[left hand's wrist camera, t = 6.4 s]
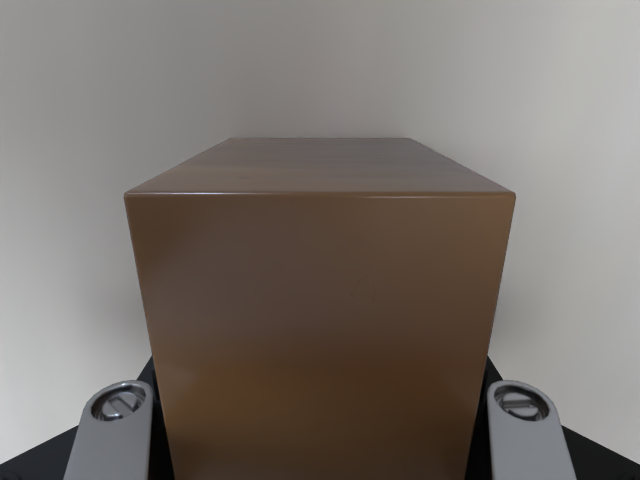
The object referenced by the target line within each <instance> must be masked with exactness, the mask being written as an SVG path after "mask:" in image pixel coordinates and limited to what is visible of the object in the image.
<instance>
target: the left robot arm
mask: <svg viewBox="0 0 640 480" xmlns="http://www.w3.org/2000/svg"><path fill="white" fill-rule="evenodd" d="M0 480H175V477H174V471H173V466H172V460H171V455H170V449H169V444H168V438H167V433H166V427H165V422H164V416H163V411H162V405H161V400H160V394H159V389H158V383H157V378H156V372H155V367H154V361H153V356H151V358H150V359H149V361H148V363H147V364H146V366H145V367H144V369H143V371H142V372H141V374H140V375H139V377H138V378H137V380H128V381H122V382H118V383H115V384H112V385H110V386H108V387H106V388H104V389H102V390H100V391H99V392H98V393H96V394H95V395H93V397H92V398H91V399H90V400H89V401H88V402H87V403H86V405H85V407H84V409H83V413H82V416H81V419H80V423H79V425H78V426H76V427H74V428H72V429H70V430H68V431H66V432H64V433H62V434H60V435H58V436H56V437H54V438H52V439H50V440H48V441H46V442H44V443H42V444H40V445H38V446H36V447H34V448H32V449H30V450H28V451H26V452H24V453H22V454H20V455H18V456H16V457H14V458H12V459H10V460H8V461H6V462H4V463H2V464H0ZM465 480H640V465H639V464H637V463H635V462H633V461H631V460H629V459H627V458H625V457H623V456H622V455H620V454H618V453H616V452H614V451H612V450H610V449H608V448H606V447H604V446H602V445H600V444H598V443H596V442H594V441H592V440H590V439H588V438H586V437H584V436H582V435H580V434H578V433H576V432H574V431H572V430H570V429H568V428H566V427H564V426H562V425H561V423H560V419H559V416H558V413H557V409H556V407H555V405H554V403H553V402H552V401H551V400H550V399H549V398H548V397H547V395H545V394H544V393H542V392H541V391H540V390H538V389H536V388H534V387H532V386H530V385H528V384H525V383H522V382H518V381H512V380H503V379H502V377H501V376H500V374H499V373H498V371H497V369H496V368H495V366H494V365H493V363H492V362H491V360H490V358H489V357H488V355H487V359H486V365H485V370H484V376H483V381H482V387H481V392H480V398H479V403H478V409H477V414H476V420H475V425H474V431H473V436H472V442H471V447H470V453H469V458H468V464H467V469H466V475H465Z"/></svg>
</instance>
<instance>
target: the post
mask: <svg viewBox="0 0 640 480" xmlns="http://www.w3.org/2000/svg"><path fill="white" fill-rule="evenodd" d="M515 200H516V194H515V193H514V192H512V191H510V190H508V189H507V188H505V187H503V186H501V185H499V184H497V183H495V182H493V181H491V180H489V179H487V178H485V177H483V176H482V175H480V174H478V173H476V172H474V171H472V170H470V169H468V168H466V167H464V166H462V165H460V164H458V163H457V162H455V161H453V160H451V159H449V158H447V157H445V156H443V155H441V154H439V153H437V152H435V151H433V150H432V149H430V148H428V147H426V146H424V145H422V144H420V143H418V142H416V141H414V140H412V139H410V138H230V139H227V140H226V141H224V142H222V143H220V144H218V145H216V146H214V147H212V148H210V149H208V150H206V151H204V152H202V153H200V154H199V155H197V156H195V157H193V158H191V159H189V160H187V161H185V162H183V163H181V164H179V165H177V166H175V167H173V168H172V169H170V170H168V171H166V172H164V173H162V174H160V175H158V176H156V177H154V178H152V179H150V180H148V181H147V182H145V183H143V184H141V185H139V186H137V187H135V188H133V189H131V190H129V191H127V192H125V194H124V202H125V207H126V213H127V218H128V224H129V229H130V235H131V240H132V246H133V251H134V257H135V262H136V268H137V273H138V279H139V284H140V290H141V295H142V301H143V306H144V312H145V317H146V323H147V328H148V334H149V339H150V345H151V350H152V356H153V361H154V367H155V372H156V378H157V383H158V389H159V394H160V400H161V405H162V411H163V416H164V422H165V427H166V433H167V438H168V444H169V449H170V455H171V460H172V466H173V471H174V477H175V480H465V475H466V469H467V464H468V458H469V453H470V447H471V442H472V436H473V431H474V425H475V420H476V414H477V409H478V403H479V398H480V392H481V387H482V381H483V376H484V370H485V365H486V359H487V354H488V348H489V343H490V337H491V332H492V327H493V321H494V316H495V310H496V305H497V299H498V294H499V288H500V283H501V277H502V272H503V266H504V261H505V255H506V250H507V244H508V239H509V233H510V228H511V222H512V217H513V211H514V206H515Z"/></svg>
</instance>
